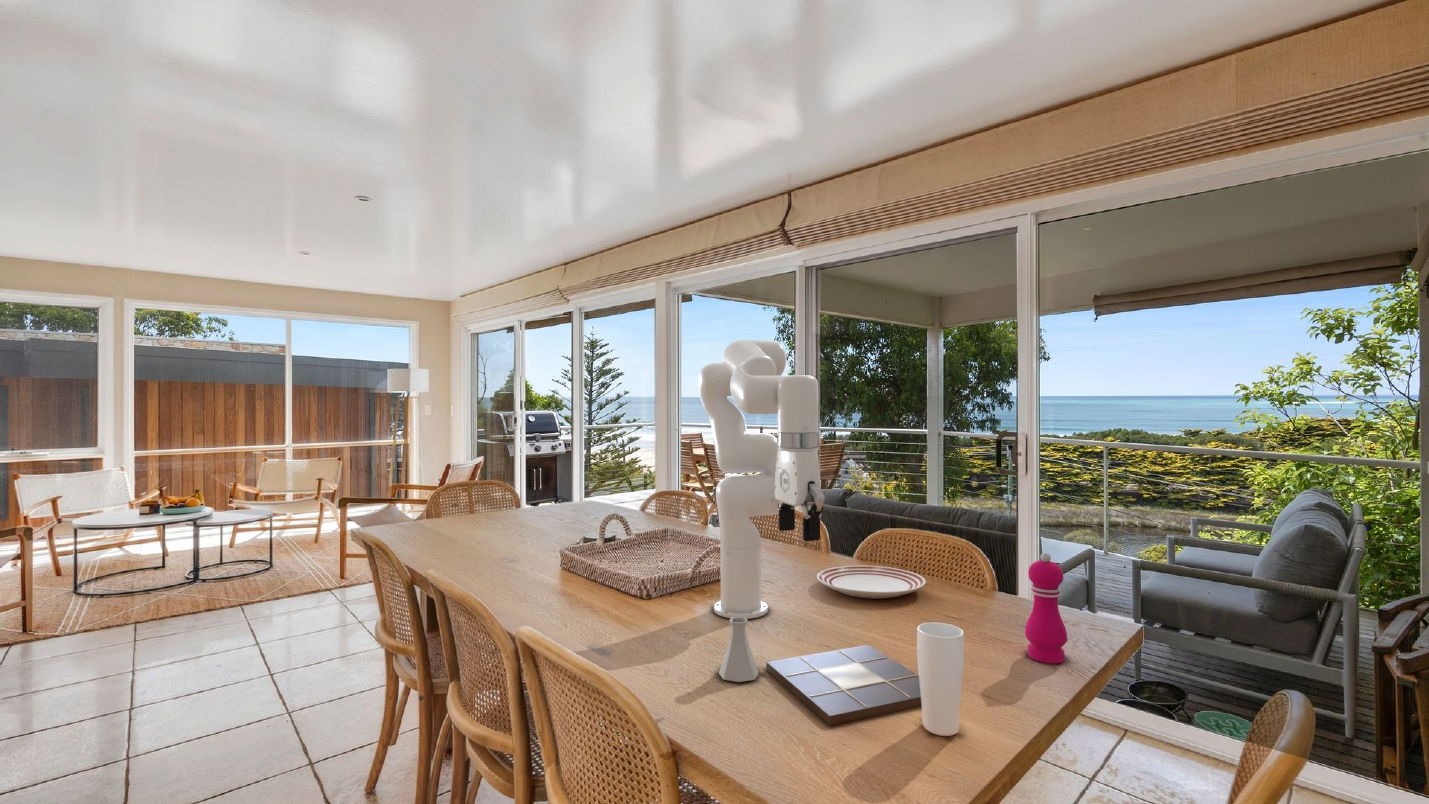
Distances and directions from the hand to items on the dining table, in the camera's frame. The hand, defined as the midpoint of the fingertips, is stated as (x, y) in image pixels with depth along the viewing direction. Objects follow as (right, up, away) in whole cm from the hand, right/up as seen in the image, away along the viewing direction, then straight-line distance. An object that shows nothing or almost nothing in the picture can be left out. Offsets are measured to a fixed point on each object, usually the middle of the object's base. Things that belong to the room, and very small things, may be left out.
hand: (798, 535), depth 121 cm
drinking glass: (+19, -25, -22) cm, 38 cm away
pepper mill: (+48, -25, +4) cm, 54 cm away
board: (+8, -25, -7) cm, 27 cm away
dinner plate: (+25, -24, +49) cm, 60 cm away
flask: (-11, -25, -3) cm, 27 cm away
